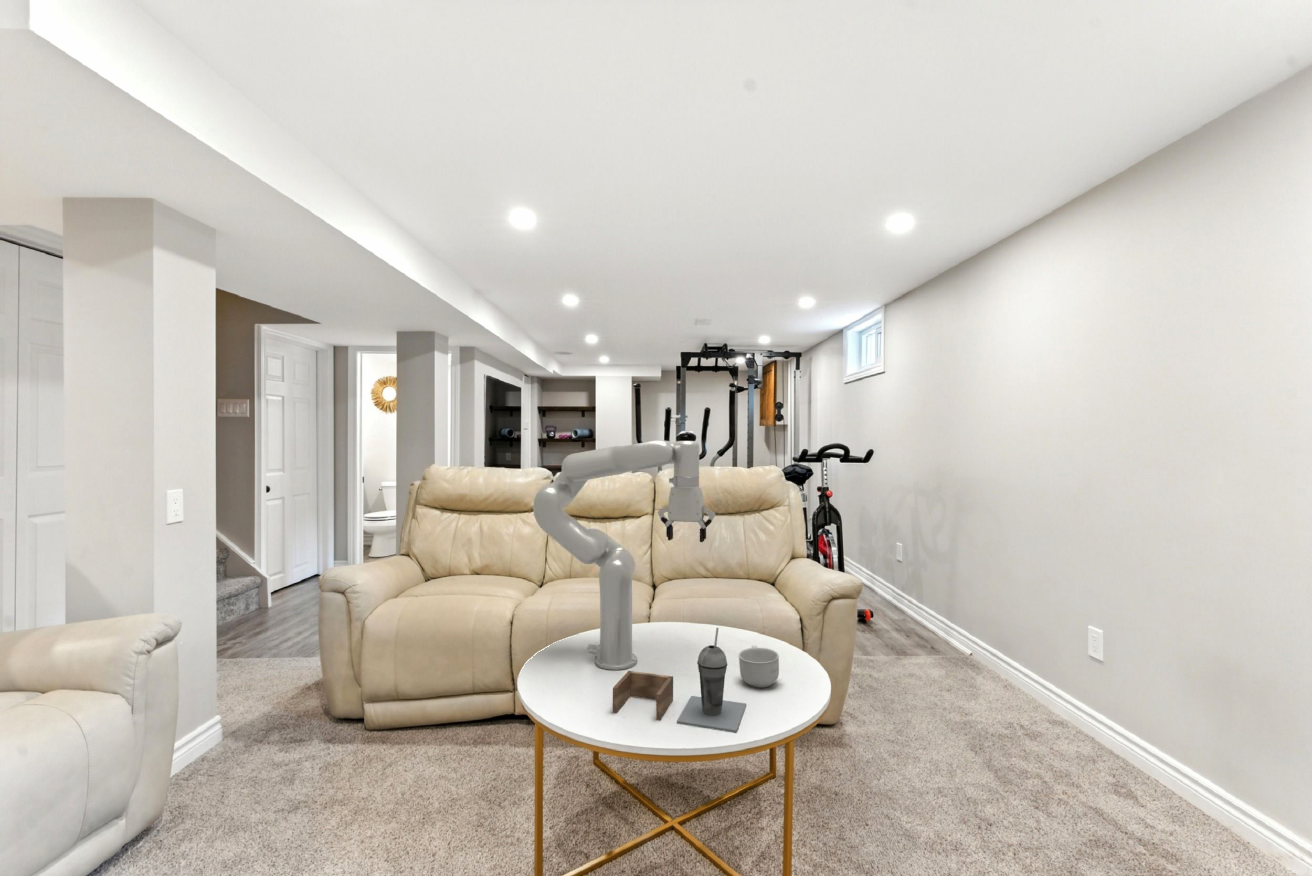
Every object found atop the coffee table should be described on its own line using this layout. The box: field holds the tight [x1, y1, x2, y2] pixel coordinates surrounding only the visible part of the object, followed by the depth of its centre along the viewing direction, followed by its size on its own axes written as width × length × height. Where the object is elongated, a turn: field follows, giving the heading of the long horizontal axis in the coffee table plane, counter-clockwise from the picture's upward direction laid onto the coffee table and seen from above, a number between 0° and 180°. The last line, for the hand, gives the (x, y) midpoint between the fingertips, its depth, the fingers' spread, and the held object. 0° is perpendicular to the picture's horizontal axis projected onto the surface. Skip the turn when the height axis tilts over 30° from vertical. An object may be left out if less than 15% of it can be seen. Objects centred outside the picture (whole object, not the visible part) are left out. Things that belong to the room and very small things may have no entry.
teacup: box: [738, 645, 780, 689], centre depth 156 cm, size 14×11×8 cm
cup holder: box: [612, 670, 674, 721], centre depth 140 cm, size 12×11×6 cm
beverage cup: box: [696, 627, 728, 716], centre depth 137 cm, size 7×7×20 cm
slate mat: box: [676, 695, 747, 733], centre depth 136 cm, size 14×14×1 cm
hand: (686, 540), depth 168 cm, fingers open, 9 cm apart
